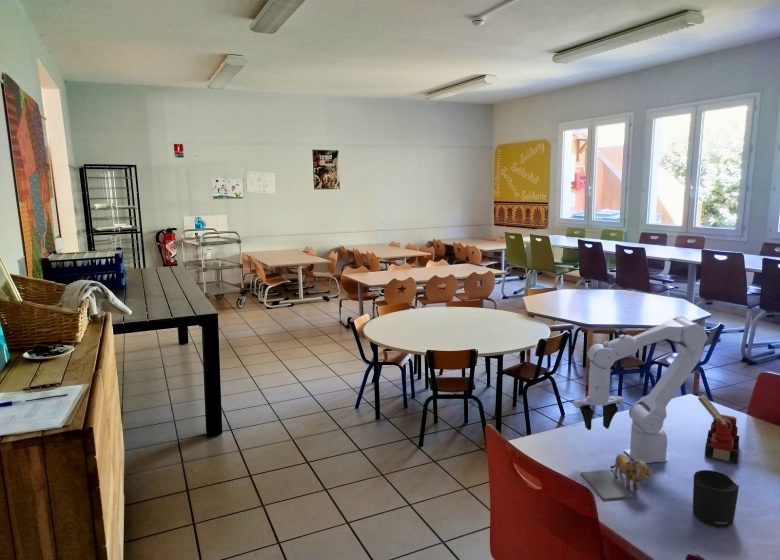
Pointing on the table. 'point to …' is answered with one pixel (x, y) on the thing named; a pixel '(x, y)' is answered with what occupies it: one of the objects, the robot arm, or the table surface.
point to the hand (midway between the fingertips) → (596, 427)
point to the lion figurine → (631, 470)
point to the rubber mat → (606, 485)
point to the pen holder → (714, 498)
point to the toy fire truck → (721, 434)
